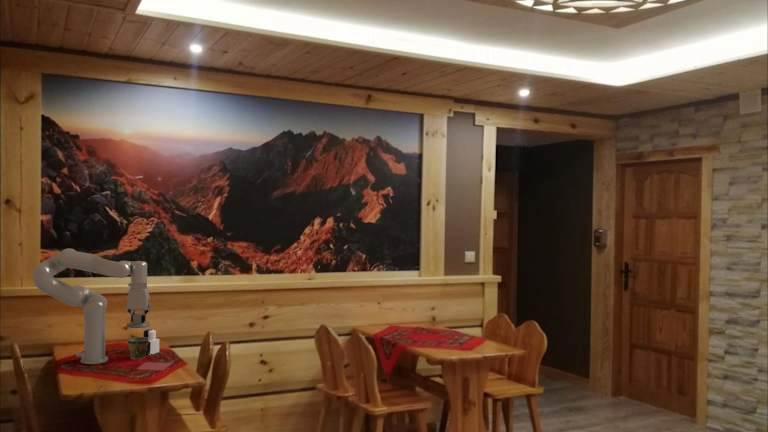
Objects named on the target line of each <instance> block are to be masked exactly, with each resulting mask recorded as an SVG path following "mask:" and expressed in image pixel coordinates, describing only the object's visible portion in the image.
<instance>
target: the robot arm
mask: <svg viewBox="0 0 768 432" xmlns="http://www.w3.org/2000/svg"><path fill="white" fill-rule="evenodd" d="M66 269H74V270H81V271H85V272H91V273H93V274H99V275H102V276H107V277H112V278H118V279H119V278H120V279H122V278H123V279H124V278H126V277H128V276H129V275H130V282H129V283H128V284H127V286H128V287H130V288H128V293H127V300H126V305H125V306H124V310H126V311H127V312H128V313H129V314H130V321H131V322H132V323H133V314H135V313H136V310H139V311H140V310H141V313H142V316H141V323H144V322H147V321H146V320H147V319H146V315H147V314H148V313H150V312H151V311H152V310H153V306H152V305H151V302H150V292H149V289H148V263H147V262H146V261H143V260H137V261H129V260H120V261H115V260H109V259H105V258H103V257H100V256H98V254H94V253H93V254H92V253H88V252H82V251H77V250H76V249H74V248H71V247H70V248H65V249H62V250H61V251H60V252H58V253H57V254H54V255H52V256H50V257H48V258H47V259H45V260H43V261H41V262H39V263H37V264H36V265H35V267H34V268H33V271H32V280H33V283H34V286H35V287H36V288H37V290H39V291H41V292H42V293H44V294H46V295H47V296H50V297H52V298H54V299H55V300H57V301H59V302H62V303H64V304H66V305H68V306H70V307H81V308H83V318H84V323H83V325H84V328H83V329H84V336H83V338H84V339H83V343H84V345H83V352H80V351H79V352H78V351H77V352H76V353H75V354H76V358H80V363H81V364H85V365H98V364H103V363H107V362H108V361H109V357H108V356H106V310H107V308H108V300H107V298H106V297H105V296H104V295H102V294H101V293H98V292H96V291H94V290H92V289H91V288H88V287H85V286H83V285H80V284H74V285H73V284H72V285H71V284H68V283H66V282H65V281H62V280H60V279H57V278H56V277H54V276H55V275H57V274H59V273H61V272H63V271H65V270H66Z"/></svg>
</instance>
